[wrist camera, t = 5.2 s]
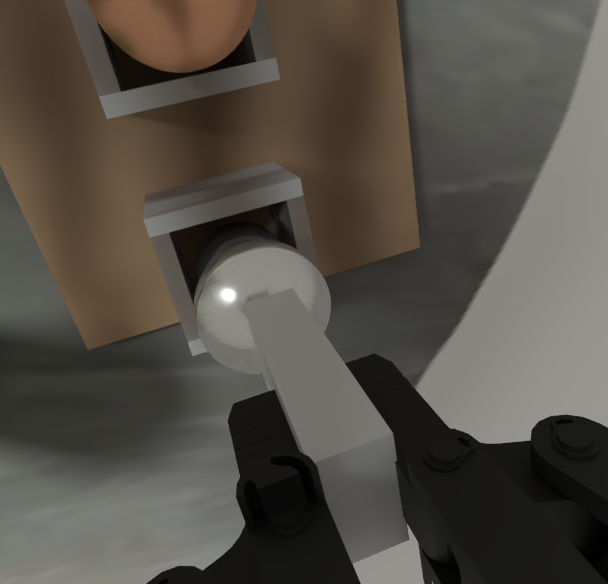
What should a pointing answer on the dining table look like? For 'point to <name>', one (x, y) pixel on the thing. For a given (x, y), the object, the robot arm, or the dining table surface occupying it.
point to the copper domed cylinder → (175, 30)
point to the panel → (202, 152)
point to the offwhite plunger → (249, 289)
